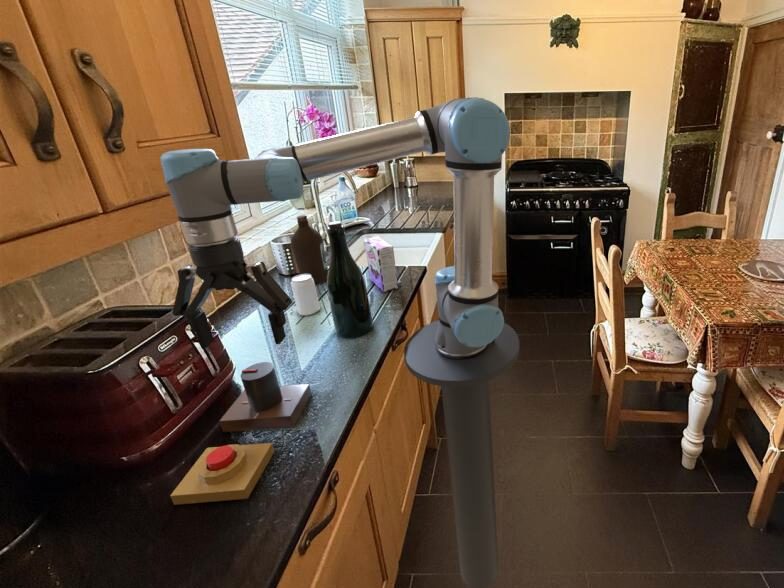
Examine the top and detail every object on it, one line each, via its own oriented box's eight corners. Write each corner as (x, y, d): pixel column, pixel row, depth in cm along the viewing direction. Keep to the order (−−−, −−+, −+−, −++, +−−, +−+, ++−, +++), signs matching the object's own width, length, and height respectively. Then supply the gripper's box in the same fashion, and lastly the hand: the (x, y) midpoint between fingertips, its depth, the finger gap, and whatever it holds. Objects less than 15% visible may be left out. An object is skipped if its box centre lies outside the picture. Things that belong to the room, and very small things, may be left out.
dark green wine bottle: (373, 335, 116) (354, 225, 104) (334, 341, 113) (310, 230, 101) (373, 317, 125) (356, 215, 113) (337, 323, 122) (315, 219, 110)
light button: (240, 451, 74) (237, 444, 73) (227, 470, 70) (224, 462, 69) (217, 453, 73) (214, 446, 73) (203, 472, 70) (200, 464, 69)
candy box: (369, 280, 151) (363, 238, 145) (384, 275, 155) (378, 235, 149) (383, 292, 141) (376, 249, 135) (399, 288, 144) (393, 245, 138)
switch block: (275, 451, 78) (270, 435, 76) (247, 498, 69) (241, 481, 67) (210, 456, 77) (204, 440, 76) (173, 505, 68) (166, 488, 66)
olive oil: (300, 288, 146) (284, 222, 137) (299, 277, 155) (285, 214, 145) (331, 281, 150) (318, 217, 141) (329, 272, 159) (317, 210, 150)
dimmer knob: (287, 390, 90) (278, 359, 86) (274, 410, 84) (264, 377, 81) (259, 392, 89) (249, 361, 86) (244, 412, 84) (233, 379, 81)
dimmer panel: (312, 394, 93) (309, 383, 92) (293, 427, 83) (289, 415, 82) (249, 398, 92) (245, 387, 91) (222, 432, 82) (218, 420, 81)
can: (323, 306, 133) (316, 273, 128) (314, 316, 127) (306, 281, 122) (304, 306, 133) (296, 273, 128) (294, 316, 127) (285, 281, 122)
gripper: (120, 250, 66) (163, 358, 74) (277, 244, 68) (303, 349, 76) (153, 236, 73) (189, 335, 81) (295, 230, 75) (317, 328, 83)
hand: (244, 342), depth 78 cm, fingers open, 13 cm apart
